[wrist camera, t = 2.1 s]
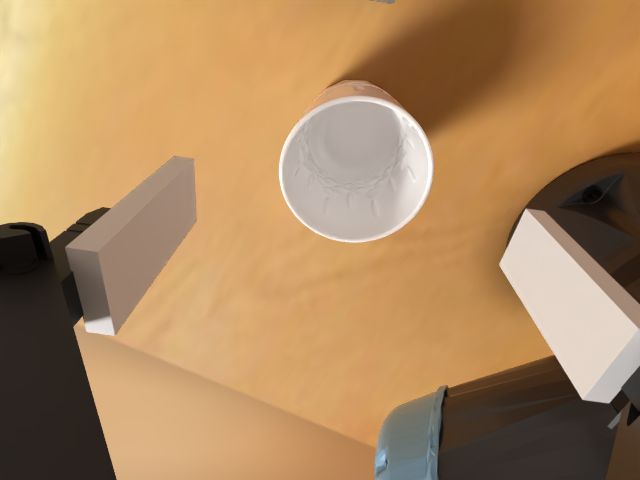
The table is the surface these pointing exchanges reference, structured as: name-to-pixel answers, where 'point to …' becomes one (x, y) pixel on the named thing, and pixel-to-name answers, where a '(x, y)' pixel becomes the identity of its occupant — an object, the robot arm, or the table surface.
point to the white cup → (356, 164)
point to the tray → (385, 1)
